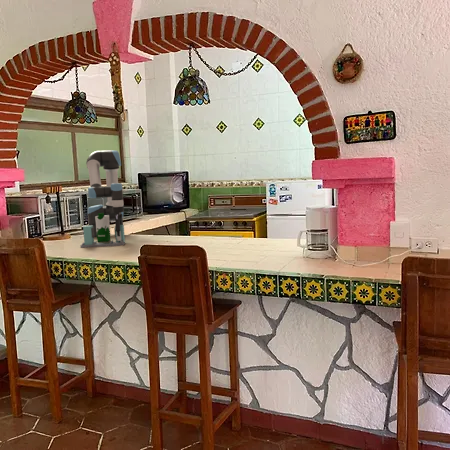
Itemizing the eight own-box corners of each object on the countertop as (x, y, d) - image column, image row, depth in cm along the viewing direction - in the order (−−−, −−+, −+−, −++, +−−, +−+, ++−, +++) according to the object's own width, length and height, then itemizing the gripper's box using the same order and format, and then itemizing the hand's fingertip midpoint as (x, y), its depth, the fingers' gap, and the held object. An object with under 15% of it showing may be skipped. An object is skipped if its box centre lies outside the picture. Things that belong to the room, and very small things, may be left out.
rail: (83, 245, 321) (83, 241, 321) (125, 243, 322) (125, 239, 322) (80, 247, 314) (80, 243, 314) (123, 245, 315) (123, 241, 315)
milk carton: (95, 242, 335) (93, 213, 333) (100, 240, 344) (98, 212, 341) (108, 241, 334) (105, 213, 332) (112, 239, 343) (110, 212, 341)
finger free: (116, 242, 329) (115, 225, 327) (125, 242, 329) (123, 224, 327) (115, 243, 324) (114, 226, 322) (123, 243, 324) (122, 225, 322)
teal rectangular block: (86, 243, 320) (85, 225, 319) (95, 243, 320) (93, 225, 319) (84, 244, 315) (83, 226, 314) (93, 244, 315) (91, 226, 314)
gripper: (115, 205, 333) (117, 237, 336) (109, 207, 313) (111, 242, 316) (126, 204, 334) (128, 237, 336) (120, 207, 313) (123, 241, 316)
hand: (120, 239), depth 326 cm, fingers open, 8 cm apart
